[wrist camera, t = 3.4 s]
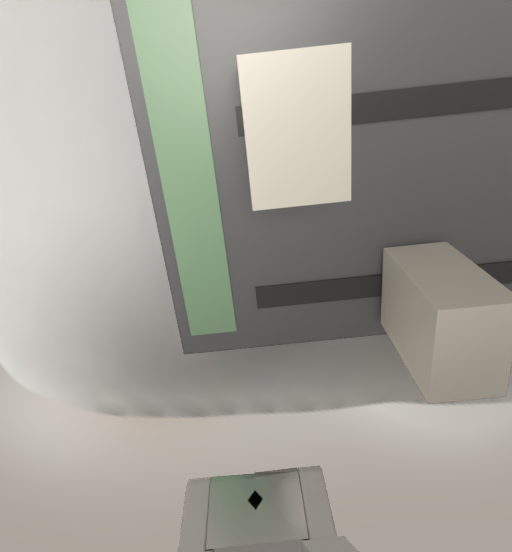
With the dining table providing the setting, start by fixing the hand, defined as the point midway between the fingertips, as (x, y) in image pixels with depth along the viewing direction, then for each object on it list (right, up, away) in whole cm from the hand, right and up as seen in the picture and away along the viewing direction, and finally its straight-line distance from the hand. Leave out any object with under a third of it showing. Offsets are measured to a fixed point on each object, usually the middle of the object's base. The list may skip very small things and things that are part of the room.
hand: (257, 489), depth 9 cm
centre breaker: (+1, +10, +5) cm, 11 cm away
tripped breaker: (+6, +5, +8) cm, 11 cm away
